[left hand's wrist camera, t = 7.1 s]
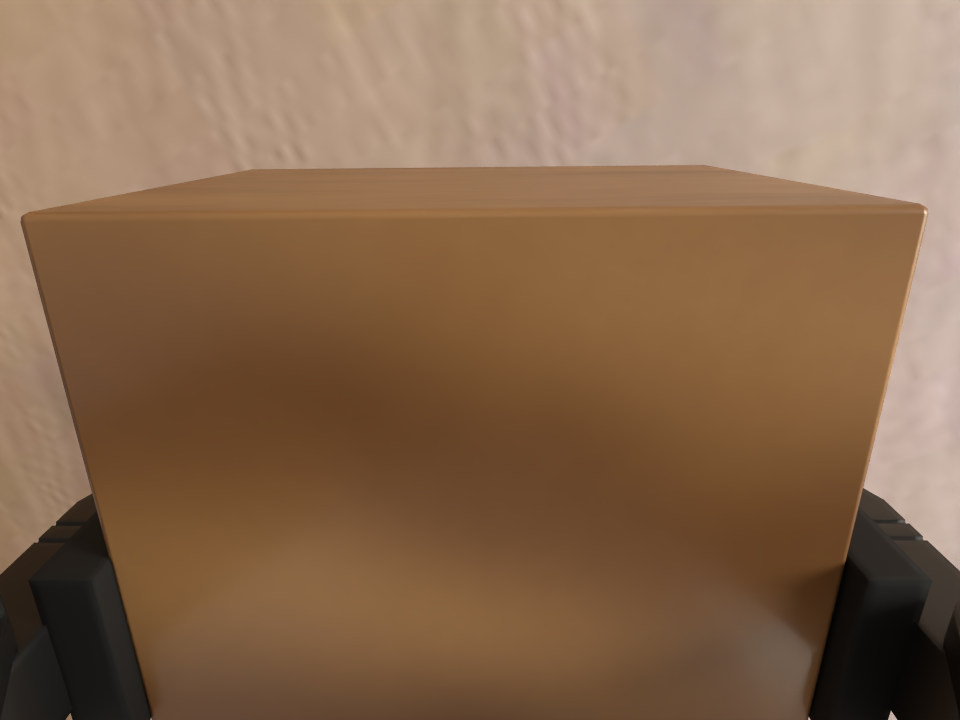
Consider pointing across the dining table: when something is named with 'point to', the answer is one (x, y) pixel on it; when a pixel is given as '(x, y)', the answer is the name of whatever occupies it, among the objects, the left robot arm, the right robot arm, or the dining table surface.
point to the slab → (477, 433)
